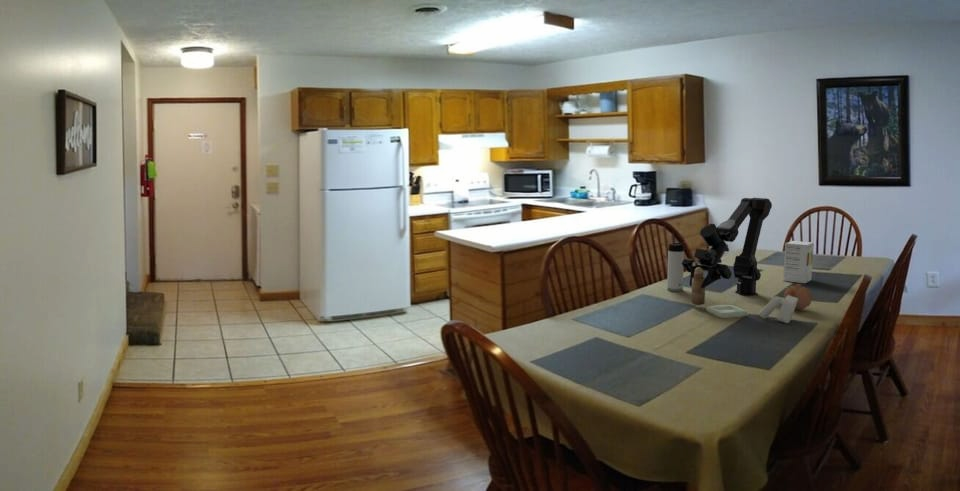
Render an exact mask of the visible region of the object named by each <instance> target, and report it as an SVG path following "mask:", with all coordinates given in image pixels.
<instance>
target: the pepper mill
mask: <svg viewBox="0 0 960 491" xmlns="http://www.w3.org/2000/svg"><path fill="white" fill-rule="evenodd" d="M705 278H706V277H704V270H703V269H702V268H700V267H698V268H696V269H695V273H694V277H693V278H692V286H691V294H690V295H691V302H690V303H691V304H692V305H700V306H701V305H705V303H706V287H705V288H702V287H701V286H702V284H703V282H704V280H705Z"/></svg>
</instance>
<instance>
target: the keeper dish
mask: <svg viewBox="0 0 960 491" xmlns="http://www.w3.org/2000/svg"><path fill="white" fill-rule="evenodd" d="M705 312H707V313H710V314H711V315H714V316H716V317H718V318H720V319H729V318H741V317H747V316H748V311H747V310H746V309H745V310H744V309H742V308H740V307H738V306H735V305H733V304H720V305H710V306H709V305H708V306H706V310H705Z"/></svg>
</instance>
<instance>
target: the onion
mask: <svg viewBox="0 0 960 491" xmlns="http://www.w3.org/2000/svg"><path fill="white" fill-rule="evenodd" d="M788 295H789V296H792V297H795V298H798V301H797V304H796V307H795V310H794V311H801V310H805V309H806V308H808V307H810V306H811V303H812V300H813V296H812V294H811V292H810V290H809V289H808V288H806V287H804V286H803V285H802V283H796V284H793V285H791V286H789V287H788V288H787V289H785V291H784V293H783V300H784V299H785V298H786V297H787V296H788Z"/></svg>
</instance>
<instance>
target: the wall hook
mask: <svg viewBox="0 0 960 491" xmlns="http://www.w3.org/2000/svg"><path fill="white" fill-rule="evenodd" d="M797 301H798V298H795V297H792V296H789V295H788V296H787V297H786V298H785V299H784V298H783V300H782V298H781V297H780V296H774V297H772V298H771V299H770V301H768V303H767V304H766V305H765V306H763V308H761V310H760V311H759V312H758V315H759V317H761V318H762V319H764V320H766V318H768V317H769V316H771V314H772V313H773V312H774V311H775V310H776V309H777V308H778V307H779V306H781V307H780V310H779V313H778V316H777V319H776V320H777V321H778V322H782V323H784V324H787V323H788V324H789V323H790V321H791V320H792V318H793V316H794V313H795V311H796V310H795V307H796V304H797Z"/></svg>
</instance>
